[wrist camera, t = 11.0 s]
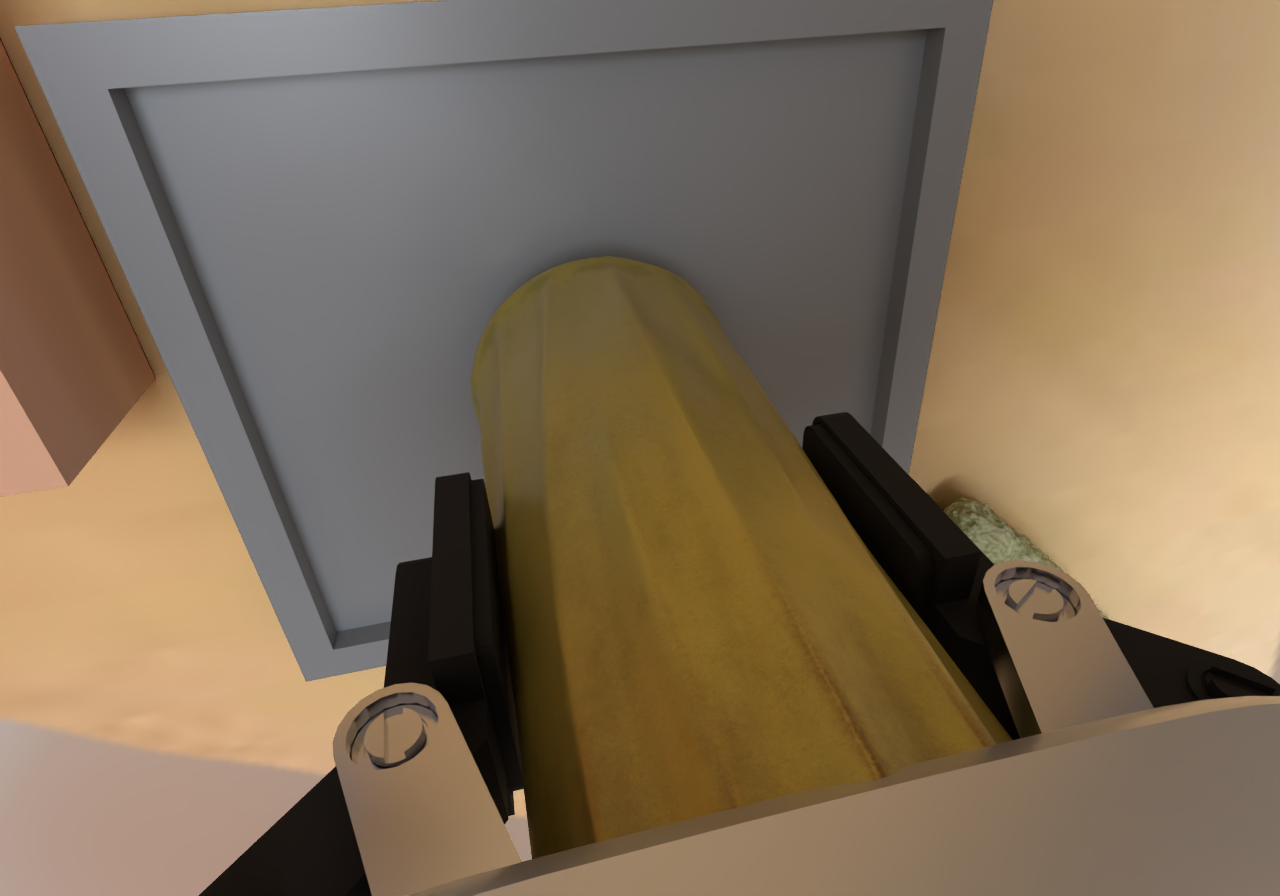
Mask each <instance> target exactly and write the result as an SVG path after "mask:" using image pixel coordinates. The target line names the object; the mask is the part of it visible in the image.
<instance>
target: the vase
mask: <svg viewBox="0 0 1280 896" xmlns="http://www.w3.org/2000/svg"><path fill="white" fill-rule="evenodd" d="M471 395H472V401H473V405H474V410H475V413H476V416H477V419H478V422H479V425H480V430H481V450H482V462H483V470H484V478H485V486H486V492H487V497H488V502H489V507H490V512H491V517H492V522H493V526H494V534H495V544H496V554H497V564H498V574H499V584H500V594H501V604H502V615H503V624H504V631H505V638H506V645H507V652H508V660H509V667H510V674H511V682H512V690H513V698H514V706H515V713H516V721H517V729H518V736H519V746H520V756H521V766H522V775H523V785H524V794H525V803H526V811H527V820H528V828H529V837H530V845H531V854H532V859H535V858H539V857H543V856H547V855H550V854H554V853H558V852H561V851H565V850H569V849H573V848H577V847H581V846H585V845H589V844H593V843H597V842H601V841H605V840H609V839H613V838H617V837H621V836H625V835H629V834H633V833H637V832H641V831H645V830H649V829H653V828H657V827H661V826H665V825H669V824H673V823H677V822H681V821H685V820H689V819H693V818H697V817H701V816H705V815H709V814H713V813H717V812H721V811H725V810H730V809H735V808H739V807H743V806H748V805H751V804H755V803H758V802H762V801H765V800H769V799H773V798H777V797H781V796H785V795H789V794H793V793H798V792H802V791H807V790H813V789H819V788H825V787H831V786H837V785H843V784H851V783H858V782H866V781H873V780H877V779H881V778H885V777H888V776H890V775H891V774H893V773H895V772H896V771H898V770H899V769H901V768H903V767H905V766H908V765H912V764H916V763H920V762H924V761H929V760H933V759H937V758H941V757H945V756H950V755H954V754H958V753H962V752H966V751H970V750H975V749H979V748H983V747H987V746H991V745H996V744H1000V743H1004V742H1008V741H1012V740H1013V739H1012V738H1011V737H1010V735H1009V734H1008V733H1007V732H1006V730H1005V729H1004V728H1003V726H1002V725H1001V724H1000V722H999V721H998V720H997V719H996V717H995V716H994V715H993V713H992V712H991V711H990V709H989V708H988V707H987V705H986V704H985V703H984V701H983V700H982V699H981V698H980V696H979V695H978V694H977V692H976V691H975V690H974V688H973V687H972V686H971V684H970V683H969V682H968V680H967V679H966V678H965V676H964V675H963V674H962V672H961V671H960V670H959V668H958V667H957V666H956V664H955V663H954V662H953V660H952V659H951V658H950V656H949V655H948V654H947V652H946V651H945V650H944V648H943V647H942V646H941V644H940V643H939V642H938V640H937V639H936V638H935V636H934V635H933V634H932V632H931V631H930V630H929V628H928V627H927V626H926V624H925V623H924V622H923V620H922V619H921V618H920V617H919V615H918V614H917V613H916V611H915V610H914V609H913V607H912V606H911V605H910V604H909V602H908V601H907V600H906V598H905V597H904V596H903V594H902V593H901V592H900V590H899V589H898V588H897V586H896V585H895V584H894V582H893V581H892V580H891V579H890V577H889V576H888V575H887V573H886V572H885V571H884V569H883V568H882V567H881V565H880V564H879V563H878V561H877V560H876V559H875V557H874V556H873V554H872V553H871V552H870V550H869V549H868V548H867V546H866V545H865V543H864V542H863V541H862V539H861V538H860V536H859V535H858V534H857V532H856V531H855V529H854V528H853V526H852V525H851V523H850V522H849V520H848V519H847V517H846V516H845V514H844V513H843V511H842V509H841V508H840V506H839V505H838V503H837V501H836V500H835V498H834V497H833V495H832V494H831V492H830V491H829V489H828V488H827V486H826V485H825V483H824V482H823V480H822V479H821V477H820V475H819V474H818V472H817V471H816V469H815V468H814V466H813V465H812V463H811V461H810V460H809V458H808V457H807V455H806V454H805V452H804V450H803V449H802V447H801V446H800V444H799V442H798V441H797V439H796V438H795V436H794V435H793V433H792V432H791V430H790V429H789V428H788V426H787V425H786V423H785V422H784V421H783V419H782V418H781V417H780V415H779V414H778V412H777V411H776V409H775V408H774V406H773V404H772V403H771V401H770V400H769V398H768V397H767V395H766V393H765V392H764V390H763V389H762V387H761V386H760V384H759V383H758V381H757V380H756V378H755V377H754V375H753V374H752V372H751V371H750V369H749V368H748V367H747V365H746V364H745V363H744V361H743V360H742V359H741V358H740V356H739V355H738V354H737V352H736V351H735V350H734V348H733V347H732V345H731V344H730V342H729V341H728V339H727V337H726V336H725V334H724V332H723V330H722V328H721V326H720V323H719V320H718V318H717V316H716V315H715V313H714V312H713V311H712V309H711V308H710V306H709V305H708V303H707V302H706V301H705V300H704V299H703V298H702V297H701V296H700V294H699V293H698V292H697V291H696V290H695V289H694V288H692V287H691V286H690V285H689V284H688V283H687V282H686V281H684V280H683V279H682V278H680V277H679V276H677V275H675V274H674V273H672V272H670V271H669V270H666V269H663V268H660V267H658V266H655V265H651V264H647V263H644V262H640V261H636V260H631V259H626V258H621V257H612V256H603V257H592V258H586V259H580V260H576V261H572V262H567V263H564V264H561V265H559V266H556V267H553V268H551V269H549V270H547V271H545V272H543V273H541V274H539V275H537V276H536V277H534V278H532V279H531V280H529V281H528V282H526V283H525V284H524V285H522V286H521V287H520V288H519V289H517V290H516V291H515V292H514V293H513V294H512V295H511V296H510V297H509V298H508V299H507V300H506V301H505V302H504V303H503V304H501V305H500V307H499V308H498V309H497V310H496V312H495V313H494V314H493V316H492V317H491V319H490V321H489V322H488V324H487V326H486V328H485V330H484V332H483V334H482V336H481V339H480V342H479V344H478V347H477V350H476V354H475V359H474V364H473V369H472V374H471Z"/></svg>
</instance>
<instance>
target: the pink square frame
mask: <svg viewBox="0 0 1280 896" xmlns="http://www.w3.org/2000/svg"><path fill="white" fill-rule="evenodd" d="M154 379H155V377H154V374H153V372H152V370H151V368H150V366H149V363H148V361H147V359H146V357H145V355H144V353H143V350H142V348H141V346H140V344H139V342H138V339H137V337H136V335H135V333H134V331H133V329H132V326H131V324H130V322H129V320H128V318H127V316H126V313H125V311H124V309H123V307H122V305H121V302H120V300H119V298H118V296H117V294H116V292H115V289H114V287H113V285H112V283H111V281H110V278H109V276H108V274H107V272H106V270H105V268H104V265H103V263H102V261H101V259H100V257H99V254H98V252H97V250H96V248H95V246H94V244H93V241H92V239H91V237H90V235H89V233H88V230H87V228H86V226H85V224H84V222H83V220H82V217H81V215H80V213H79V211H78V209H77V207H76V204H75V202H74V200H73V198H72V196H71V193H70V191H69V189H68V187H67V185H66V183H65V180H64V178H63V176H62V174H61V172H60V169H59V167H58V165H57V163H56V161H55V159H54V156H53V154H52V152H51V150H50V148H49V145H48V143H47V141H46V139H45V137H44V135H43V132H42V130H41V128H40V126H39V124H38V121H37V119H36V117H35V115H34V113H33V111H32V108H31V106H30V104H29V102H28V100H27V98H26V95H25V93H24V91H23V89H22V87H21V84H20V82H19V80H18V78H17V76H16V74H15V71H14V69H13V67H12V65H11V63H10V60H9V58H8V56H7V54H6V52H5V50H4V47H3V45H2V43H1V41H0V497H2V496H9V495H15V494H22V493H28V492H35V491H42V490H48V489H55V488H62V487H68V486H69V485H70V484H71V482H72V481H73V480H74V479H75V477H76V476H77V475H78V474H79V472H80V471H81V470H82V469H83V467H84V466H85V465H86V464H87V462H88V461H89V460H90V459H91V458H92V456H93V455H94V454H95V453H96V451H97V450H98V449H99V448H100V446H101V445H102V444H103V443H104V441H105V440H106V439H107V438H108V436H109V435H110V434H111V433H112V431H113V430H114V429H115V428H116V426H117V425H118V424H119V423H120V421H121V420H122V419H123V418H124V417H125V415H126V414H127V413H128V412H129V410H130V409H131V408H132V407H133V405H134V404H135V403H136V402H137V400H138V399H139V398H140V397H141V395H142V394H143V393H144V392H145V390H146V389H147V388H148V387H149V385H150V384H151V383H152V382H153V380H154Z"/></svg>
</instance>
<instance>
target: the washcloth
mask: <svg viewBox="0 0 1280 896" xmlns="http://www.w3.org/2000/svg"><path fill="white" fill-rule="evenodd" d="M988 506H989V505H988V504H984V505H982V504H980V502H978V501H975V500H970V499H967V498H959V499H957V500H955V502H954V503H952V504H951V505H949V506H947V507H946V508H945V510H944V512H945V513H946V514H947V515H948V516H949V518H950V519H951V520H952V521H953V522H954V523H955V524H956V525H957V526H958V527H959V528H960V529H961V530H962V531H963V532H964V533H965V534H966V535H967V536H968V537H969V538H970V540H971V541H972V542H973V543H974V544H975V545H976V546H977V547H978V548H979V549H980V550H981V551H982V552H983V553H984V554H985V555H986V556H987V557H988V558H989V559H990V560H991V562H992V563H993V564H994V565H996V564H999V563H1002V562H1005V561H1014V560H1024V561H1032V562H1038V563H1041V564H1044V565H1048V566H1051V567H1054V568H1056V569H1058V570H1060V571H1062V569H1061V568H1060V567H1057V565H1056V564H1055V563H1053V562H1050V561H1049V557H1048V556H1047V555H1046V554H1044V553H1043V552H1042V551H1041V550H1040V549H1038V548H1037V547H1036V546H1034V545H1033V544H1032V543H1031V540H1030V539H1029V538H1028V537H1026V536H1024V535H1018V534H1017V532H1016V531H1015V530H1014V529H1013V528H1012V527H1010V526H1009V525H1008V524H1006V523H1005V522H1004V520H1002V518H999V517H998V516H997V515H996V514H995V512H994V511H993V510H991V509H989V508H988ZM1062 572H1063V571H1062ZM1098 611H1099V610H1098ZM1099 613H1100V614H1101V616H1102V617H1103V618H1106V619H1108V618H1107V617H1106V616H1103V615H1102V612H1101V611H1099Z"/></svg>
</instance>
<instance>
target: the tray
mask: <svg viewBox="0 0 1280 896" xmlns="http://www.w3.org/2000/svg"><path fill="white" fill-rule="evenodd" d="M992 4H993V0H443V1H426V2H409V3H393V4H376V5H359V6H343V7H326V8H309V9H293V10H276V11H259V12H242V13H226V14H209V15H192V16H176V17H159V18H142V19H126V20H109V21H92V22H76V23H59V24H42V25H26V26H14V28H15V30H16V32H17V34H18V37H19V39H20V41H21V43H22V45H23V48H24V50H25V52H26V54H27V57H28V59H29V61H30V63H31V66H32V68H33V70H34V72H35V75H36V77H37V79H38V81H39V84H40V86H41V88H42V90H43V93H44V95H45V97H46V99H47V102H48V104H49V106H50V108H51V111H52V113H53V115H54V117H55V119H56V122H57V124H58V126H59V128H60V131H61V133H62V135H63V137H64V140H65V142H66V144H67V146H68V149H69V151H70V153H71V155H72V158H73V160H74V162H75V164H76V167H77V169H78V171H79V173H80V176H81V178H82V180H83V182H84V185H85V187H86V189H87V191H88V194H89V196H90V198H91V200H92V202H93V205H94V207H95V209H96V211H97V214H98V216H99V218H100V220H101V223H102V225H103V227H104V229H105V232H106V234H107V236H108V238H109V241H110V243H111V245H112V247H113V250H114V252H115V254H116V256H117V259H118V261H119V263H120V265H121V268H122V270H123V272H124V274H125V277H126V279H127V281H128V283H129V285H130V288H131V290H132V292H133V294H134V297H135V299H136V301H137V303H138V306H139V308H140V310H141V312H142V315H143V317H144V319H145V321H146V324H147V326H148V328H149V330H150V333H151V335H152V337H153V339H154V342H155V344H156V346H157V348H158V351H159V353H160V355H161V357H162V360H163V362H164V364H165V366H166V368H167V371H168V373H169V375H170V377H171V380H172V382H173V384H174V386H175V389H176V391H177V393H178V395H179V398H180V400H181V402H182V404H183V407H184V409H185V411H186V413H187V416H188V418H189V420H190V422H191V425H192V427H193V429H194V431H195V434H196V436H197V438H198V440H199V442H200V445H201V447H202V449H203V451H204V454H205V456H206V458H207V460H208V463H209V465H210V467H211V469H212V472H213V474H214V476H215V478H216V481H217V483H218V485H219V487H220V490H221V492H222V494H223V496H224V499H225V501H226V503H227V505H228V508H229V510H230V512H231V514H232V517H233V519H234V521H235V523H236V525H237V528H238V530H239V532H240V534H241V537H242V539H243V541H244V543H245V546H246V548H247V550H248V552H249V555H250V557H251V559H252V561H253V564H254V566H255V568H256V570H257V573H258V575H259V577H260V579H261V582H262V584H263V586H264V588H265V591H266V593H267V595H268V597H269V600H270V602H271V604H272V606H273V608H274V611H275V613H276V615H277V617H278V620H279V622H280V624H281V626H282V629H283V631H284V633H285V635H286V638H287V640H288V642H289V644H290V647H291V649H292V651H293V653H294V656H295V658H296V660H297V662H298V665H299V667H300V669H301V671H302V674H303V676H304V678H305V680H306V682H307V681H312V680H317V679H322V678H327V677H332V676H337V675H342V674H347V673H352V672H357V671H362V670H367V669H372V668H377V667H382V666H386V663H387V653H388V643H389V634H390V624H391V614H392V604H393V595H394V585H395V575H396V569H397V565H398V564H399V563H401V562H406V561H412V560H418V559H423V558H429V557H432V547H433V522H434V497H435V479H436V477H441V476H448V475H454V474H460V473H466V472H469V473H470V476H471V480H477V479H484V483H485V478H484V470H483V462H482V450H481V430H480V425H479V422H478V419H477V416H476V413H475V410H474V405H473V401H472V395H471V374H472V369H473V364H474V359H475V354H476V350H477V347H478V344H479V342H480V339H481V336H482V334H483V332H484V330H485V328H486V326H487V324H488V322H489V321H490V319H491V317H492V316H493V314H494V313H495V312H496V310H497V309H498V308H499V307H500V305H501V304H503V303H504V302H505V301H506V300H507V299H508V298H509V297H510V296H511V295H512V294H513V293H514V292H515V291H516V290H517V289H519V288H520V287H521V286H522V285H524V284H525V283H526V282H528V281H529V280H531V279H532V278H534V277H536V276H537V275H539V274H541V273H543V272H545V271H547V270H549V269H551V268H553V267H556V266H559V265H561V264H564V263H567V262H572V261H576V260H580V259H586V258H592V257H603V256H612V257H621V258H626V259H631V260H636V261H640V262H644V263H647V264H651V265H655V266H658V267H660V268H663V269H666V270H669V271H670V272H672V273H674V274H675V275H677V276H679V277H680V278H682V279H683V280H684V281H686V282H687V283H688V284H689V285H690V286H691V287H692V288H694V289H695V290H696V291H697V292H698V293H699V294H700V296H701V297H702V298H703V299H704V300H705V301H706V302H707V303H708V305H709V306H710V308H711V309H712V311H713V312H714V313H715V315H716V316H717V318H718V320H719V323H720V326H721V328H722V330H723V332H724V334H725V336H726V337H727V339H728V341H729V342H730V344H731V345H732V347H733V348H734V350H735V351H736V352H737V354H738V355H739V356H740V358H741V359H742V360H743V361H744V363H745V364H746V365H747V367H748V368H749V369H750V371H751V372H752V374H753V375H754V377H755V378H756V380H757V381H758V383H759V384H760V386H761V387H762V389H763V390H764V392H765V393H766V395H767V397H768V398H769V400H770V401H771V403H772V404H773V406H774V408H775V409H776V411H777V412H778V414H779V415H780V417H781V418H782V419H783V421H784V422H785V423H786V425H787V426H788V428H789V429H790V430H791V432H792V433H793V435H794V436H795V438H796V439H797V441H798V442H799V444H800V446H801V447H802V445H803V434H804V430H805V427H807V426H810V425H812V422H813V420H814V418H816V417H817V416H823V415H829V414H835V413H842V412H848V413H849V414H851V415H852V416H853V417H854V418H855V419H856V420H857V421H858V422H859V423H860V425H861V426H862V427H863V428H864V429H865V430H866V431H867V432H868V433H869V434H870V435H871V436H872V437H873V438H874V439H875V440H876V441H877V442H878V443H879V444H880V445H881V447H882V448H883V449H884V450H885V451H886V452H887V453H888V454H889V455H890V456H891V457H892V458H893V459H894V460H895V461H896V462H897V463H898V464H899V465H900V466H901V467H902V469H903V470H904V471H905V472H906V473H907V474H908V475H909V469H910V464H911V458H912V453H913V447H914V441H915V436H916V430H917V425H918V419H919V413H920V408H921V402H922V397H923V391H924V385H925V380H926V374H927V369H928V363H929V357H930V352H931V346H932V341H933V335H934V329H935V324H936V318H937V313H938V307H939V301H940V296H941V290H942V284H943V279H944V273H945V268H946V262H947V256H948V251H949V245H950V240H951V234H952V228H953V223H954V217H955V212H956V206H957V200H958V195H959V189H960V184H961V178H962V172H963V167H964V161H965V156H966V150H967V144H968V139H969V133H970V128H971V122H972V116H973V111H974V105H975V100H976V94H977V88H978V83H979V77H980V71H981V66H982V60H983V55H984V49H985V43H986V38H987V32H988V27H989V21H990V15H991V10H992ZM485 487H486V486H485Z"/></svg>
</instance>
